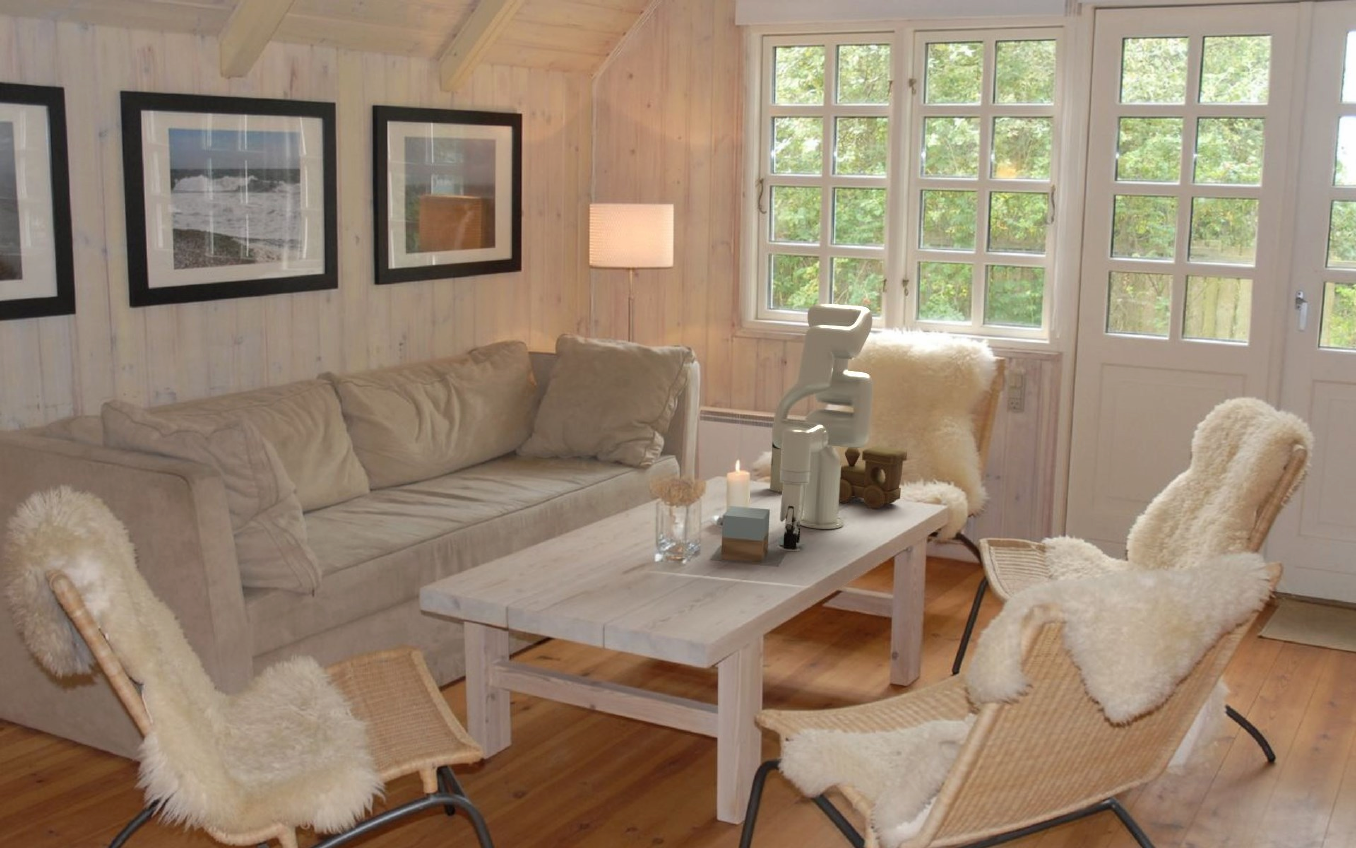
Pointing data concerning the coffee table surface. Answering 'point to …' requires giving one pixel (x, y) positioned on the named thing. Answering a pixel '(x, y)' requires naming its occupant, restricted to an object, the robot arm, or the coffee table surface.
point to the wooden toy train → (872, 476)
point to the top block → (745, 523)
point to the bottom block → (744, 549)
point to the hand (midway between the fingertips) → (791, 544)
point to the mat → (769, 560)
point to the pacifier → (781, 541)
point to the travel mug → (776, 469)
